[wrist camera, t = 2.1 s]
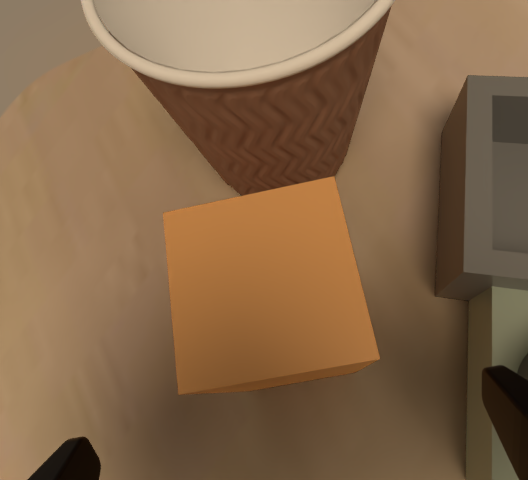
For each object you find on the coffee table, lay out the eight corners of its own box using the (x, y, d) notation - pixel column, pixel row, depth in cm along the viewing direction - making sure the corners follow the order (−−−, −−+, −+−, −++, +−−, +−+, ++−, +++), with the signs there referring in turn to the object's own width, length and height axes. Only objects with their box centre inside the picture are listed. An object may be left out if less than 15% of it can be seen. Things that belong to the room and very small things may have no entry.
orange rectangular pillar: (354, 372, 19) (380, 359, 10) (249, 391, 20) (178, 394, 10) (331, 270, 21) (334, 175, 12) (234, 288, 21) (163, 213, 12)
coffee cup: (413, 133, 23) (495, -111, 12) (292, 275, 21) (251, 150, 10) (272, 50, 26) (229, -201, 15) (158, 168, 24) (14, -17, 13)
